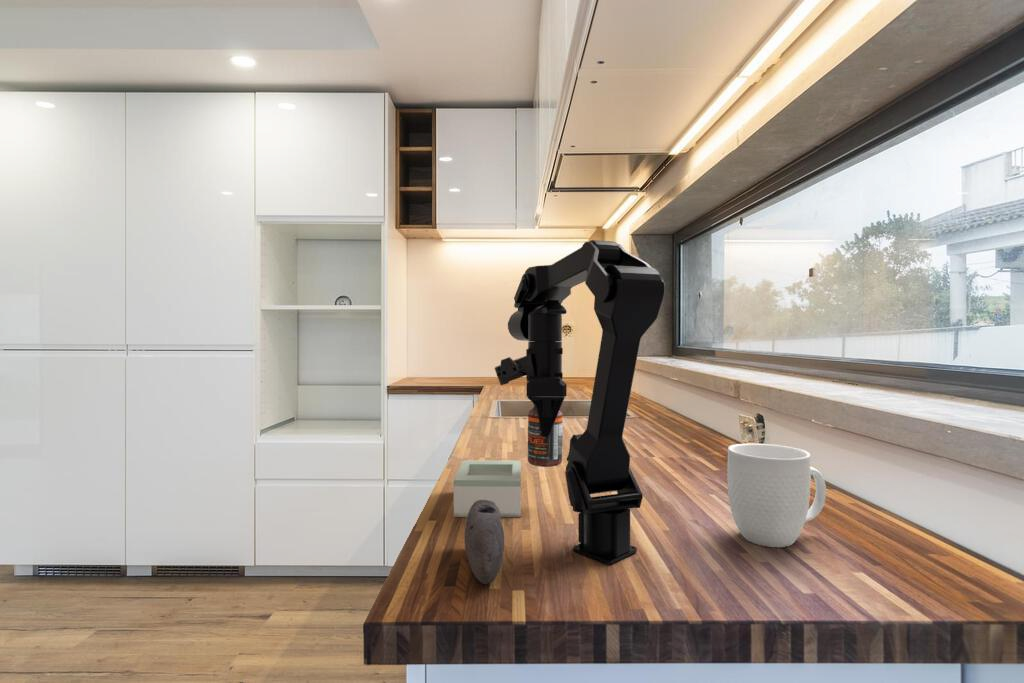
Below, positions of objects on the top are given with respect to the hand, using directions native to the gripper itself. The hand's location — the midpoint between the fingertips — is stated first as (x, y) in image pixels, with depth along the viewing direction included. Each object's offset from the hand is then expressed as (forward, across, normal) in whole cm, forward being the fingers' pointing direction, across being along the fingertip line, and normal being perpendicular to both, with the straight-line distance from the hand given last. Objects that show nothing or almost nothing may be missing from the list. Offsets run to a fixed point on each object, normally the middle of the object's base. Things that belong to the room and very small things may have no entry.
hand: (544, 433), depth 93 cm
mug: (+13, +12, +33) cm, 38 cm away
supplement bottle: (+5, 0, 0) cm, 5 cm away
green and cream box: (+13, -3, -10) cm, 16 cm away
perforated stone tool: (+13, +23, -8) cm, 28 cm away
